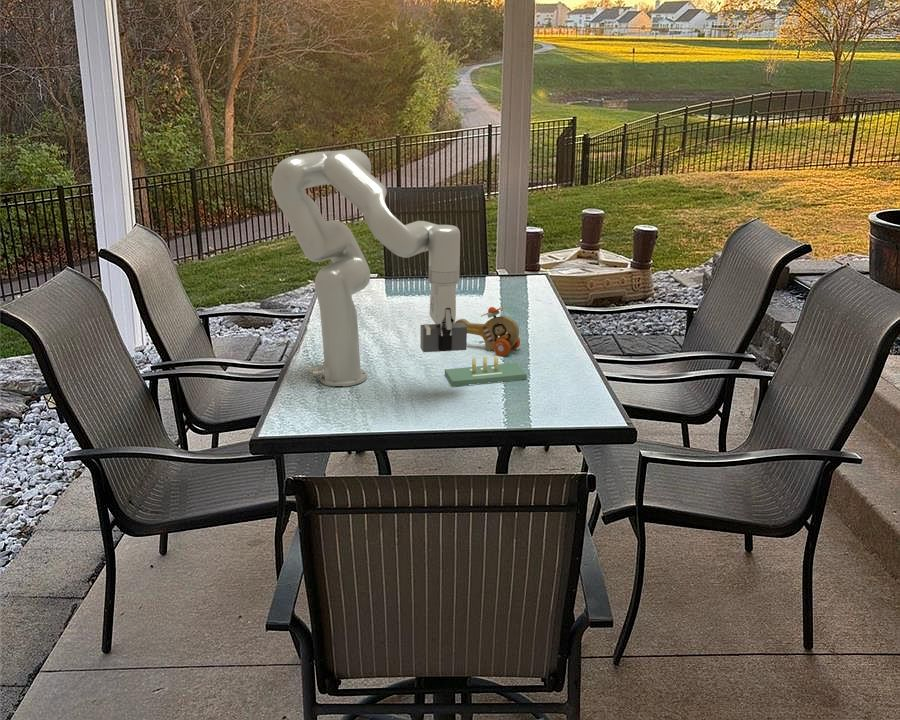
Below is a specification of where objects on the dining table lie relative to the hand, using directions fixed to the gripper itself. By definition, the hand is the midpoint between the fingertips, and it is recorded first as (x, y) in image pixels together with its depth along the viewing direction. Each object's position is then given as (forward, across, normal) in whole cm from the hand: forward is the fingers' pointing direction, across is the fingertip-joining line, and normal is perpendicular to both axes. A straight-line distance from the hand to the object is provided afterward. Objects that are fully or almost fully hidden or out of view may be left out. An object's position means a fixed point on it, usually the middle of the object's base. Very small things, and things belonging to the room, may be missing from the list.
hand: (443, 346), depth 220 cm
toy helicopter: (+13, -31, +20) cm, 39 cm away
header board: (+12, -8, +13) cm, 20 cm away
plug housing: (+1, 0, 0) cm, 1 cm away
